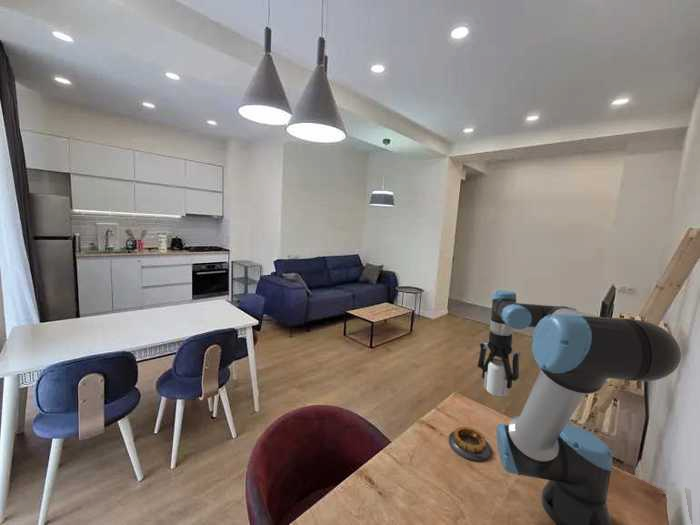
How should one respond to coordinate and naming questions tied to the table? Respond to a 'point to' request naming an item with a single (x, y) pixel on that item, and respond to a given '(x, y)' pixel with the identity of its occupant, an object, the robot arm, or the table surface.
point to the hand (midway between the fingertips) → (495, 391)
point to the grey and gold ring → (469, 444)
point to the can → (496, 377)
